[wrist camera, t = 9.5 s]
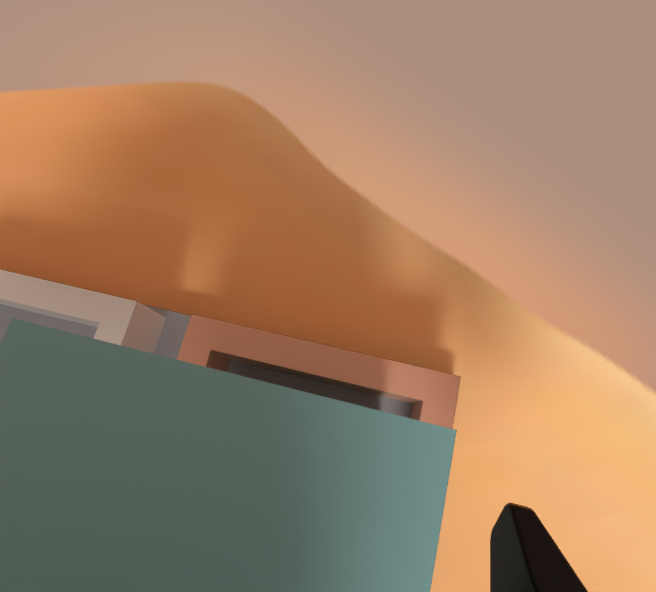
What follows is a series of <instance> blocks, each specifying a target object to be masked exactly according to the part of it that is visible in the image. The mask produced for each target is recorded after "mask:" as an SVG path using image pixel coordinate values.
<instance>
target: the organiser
mask: <svg viewBox="0 0 656 592" xmlns="http://www.w3.org/2000/svg"><path fill="white" fill-rule="evenodd" d="M12 318H14V319H18V320H22V321H26V322H30V323H34V324H38V325H42V326H46V327H50V328H54V329H58V330H62V331H66V332H70V333H74V334H78V335H82V336H86V337H90V338H93V339H97V340H101V341H105V342H109V343H113V344H117V345H121V346H125V347H129V348H133V349H137V350H141V351H145V352H149V353H153V354H157V355H161V356H165V357H169V358H173V359H177V360H181V361H185V362H189V363H193V364H197V365H200V366H204V367H208V368H212V369H216V370H220V371H224V372H228V373H232V374H236V375H240V376H244V377H248V378H252V379H256V380H260V381H264V382H268V383H272V384H276V385H280V386H284V387H288V388H292V389H296V390H300V391H304V392H307V393H311V394H315V395H319V396H323V397H327V398H331V399H335V400H339V401H343V402H347V403H351V404H355V405H359V406H363V407H367V408H371V409H375V410H379V411H383V412H387V413H391V414H395V415H399V416H403V417H407V418H410V419H414V420H418V421H422V422H426V423H430V424H434V425H438V426H442V427H446V428H450V429H452V428H453V422H454V416H455V410H456V403H457V397H458V391H459V385H460V378H461V376H456V375H452V374H448V373H443V372H439V371H435V370H431V369H426V368H422V367H418V366H413V365H409V364H405V363H400V362H396V361H392V360H388V359H383V358H379V357H375V356H370V355H366V354H362V353H357V352H353V351H349V350H345V349H340V348H336V347H332V346H327V345H323V344H319V343H314V342H310V341H306V340H302V339H297V338H293V337H289V336H284V335H280V334H276V333H272V332H267V331H263V330H259V329H254V328H250V327H246V326H241V325H237V324H233V323H229V322H224V321H220V320H216V319H211V318H207V317H203V316H198V315H194V314H192V315H191V316H190V315H186V314H182V313H177V312H173V311H169V310H164V309H160V308H156V307H151V306H147V305H143V304H141V303H139V302H137V301H134V300H130V299H125V298H121V297H117V296H112V295H108V294H104V293H100V292H95V291H91V290H87V289H82V288H78V287H74V286H69V285H65V284H61V283H57V282H52V281H48V280H44V279H39V278H35V277H31V276H26V275H22V274H18V273H14V272H9V271H5V270H1V269H0V344H1V342H2V339H3V337H4V335H5V333H6V330H7V328H8V326H9V324H10V321H11V319H12Z"/></svg>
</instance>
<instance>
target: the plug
mask: <svg viewBox="0 0 656 592" xmlns="http://www.w3.org/2000/svg"><path fill="white" fill-rule="evenodd" d="M456 431H457V430H454V429H450V428H446V427H442V426H438V425H434V424H430V423H426V422H422V421H418V420H414V419H410V418H407V417H403V416H399V415H395V414H391V413H387V412H383V411H379V410H375V409H371V408H367V407H363V406H359V405H355V404H351V403H347V402H343V401H339V400H335V399H331V398H327V397H323V396H319V395H315V394H311V393H307V392H304V391H300V390H296V389H292V388H288V387H284V386H280V385H276V384H272V383H268V382H264V381H260V380H256V379H252V378H248V377H244V376H240V375H236V374H232V373H228V372H224V371H220V370H216V369H212V368H208V367H204V366H200V365H197V364H193V363H189V362H185V361H181V360H177V359H173V358H169V357H165V356H161V355H157V354H153V353H149V352H145V351H141V350H137V349H133V348H129V347H125V346H121V345H117V344H113V343H109V342H105V341H101V340H97V339H93V338H90V337H86V336H82V335H78V334H74V333H70V332H66V331H62V330H58V329H54V328H50V327H46V326H42V325H38V324H34V323H30V322H26V321H22V320H18V319H14V318H12V319H11V321H10V324H9V326H8V328H7V330H6V333H5V335H4V337H3V339H2V342H1V344H0V592H430V589H431V583H432V577H433V570H434V564H435V558H436V552H437V546H438V540H439V534H440V528H441V522H442V516H443V510H444V504H445V497H446V491H447V485H448V479H449V473H450V467H451V461H452V455H453V449H454V443H455V437H456Z"/></svg>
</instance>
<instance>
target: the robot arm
mask: <svg viewBox="0 0 656 592" xmlns="http://www.w3.org/2000/svg"><path fill="white" fill-rule="evenodd" d="M490 592H588V591H587V590H586V588H585V587H584V585H583V584H582V582H581V581H580V579H579V578H578V576H577V575H576V573H575V572H574V570H573V569H572V567H571V566H570V564H569V563H568V561H567V560H566V558H565V557H564V555H563V554H562V552H561V551H560V549H559V548H558V546H557V545H556V543H555V542H554V540H553V539H552V537H551V536H550V534H549V533H548V531H547V530H546V528H545V527H544V525H543V524H542V522H541V521H540V519H539V518H538V516H537V515H536V513H535V512H534V511H533V510H532V509H531V508H529V507H526V506H522V505H518V504H514V503H508V504H506V505H505V507H504V509H503V510H502V512H501V514H500V516H499V518H498V520H497V522H496V523H495V525H494V527H493V530H492V533H491V540H490Z"/></svg>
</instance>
